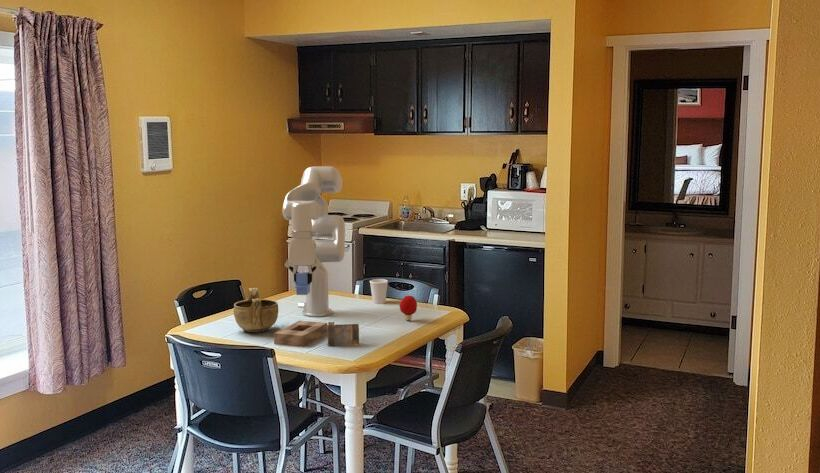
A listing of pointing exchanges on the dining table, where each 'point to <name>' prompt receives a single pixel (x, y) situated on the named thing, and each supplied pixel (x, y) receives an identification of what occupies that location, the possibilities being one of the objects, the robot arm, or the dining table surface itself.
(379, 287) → the dixie cup
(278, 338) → the brown wooden flat block
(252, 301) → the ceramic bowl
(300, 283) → the servo
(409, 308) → the light bulb
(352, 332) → the ruin model on sheet
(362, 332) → the dining table surface
